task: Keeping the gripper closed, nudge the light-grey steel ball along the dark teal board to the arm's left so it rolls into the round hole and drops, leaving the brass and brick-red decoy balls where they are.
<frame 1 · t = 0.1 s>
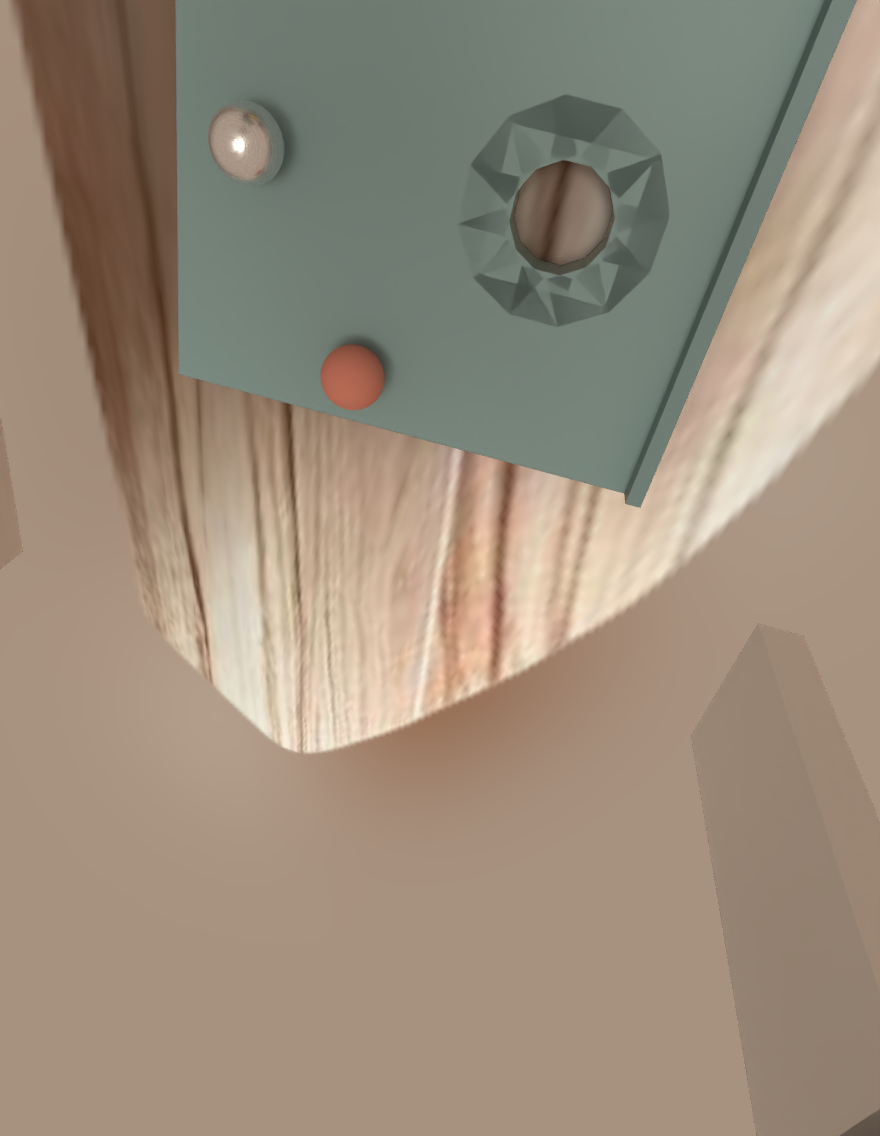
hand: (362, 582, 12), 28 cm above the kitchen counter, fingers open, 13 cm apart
steel ball: (246, 144, 31), point 4 cm above the kitchen counter, touching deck
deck: (461, 186, 34), on the kitchen counter
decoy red: (352, 377, 35), point 4 cm above the kitchen counter, touching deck
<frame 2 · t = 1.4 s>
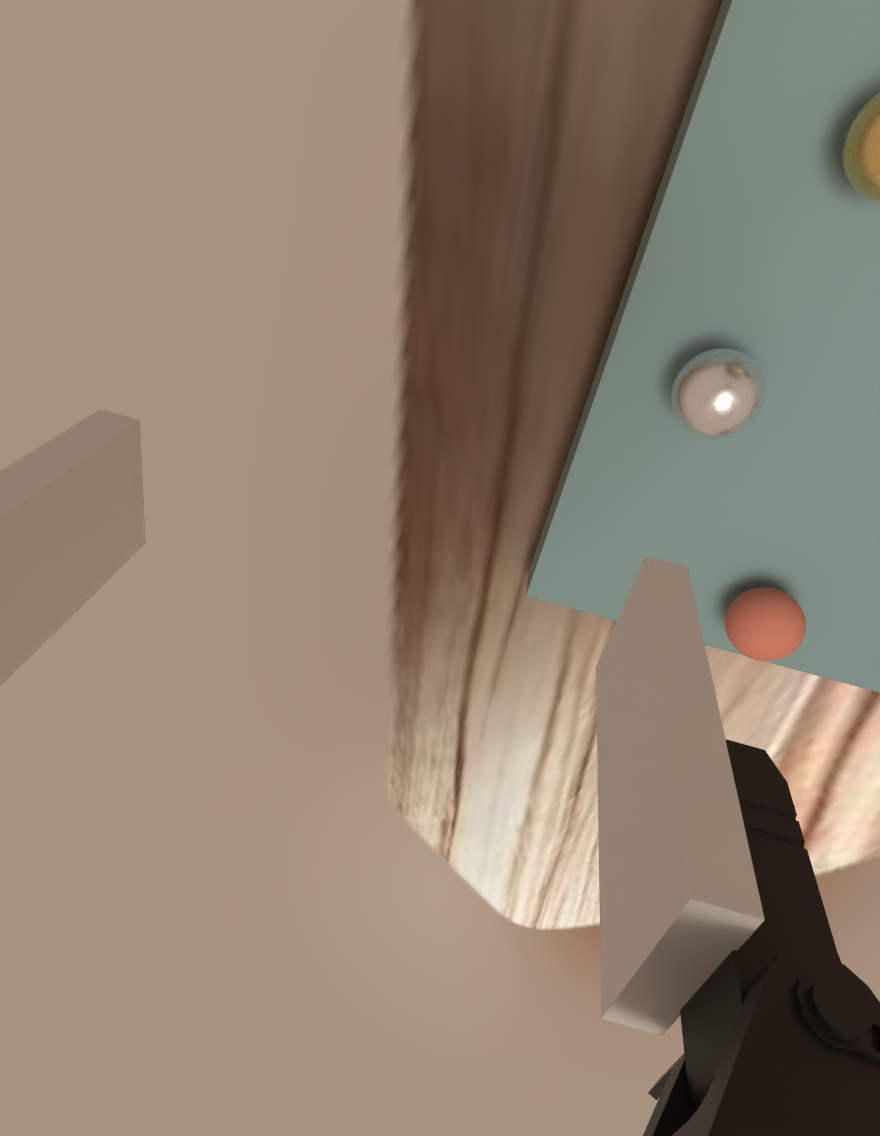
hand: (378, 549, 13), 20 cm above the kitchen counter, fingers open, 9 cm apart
steel ball: (717, 394, 26), point 4 cm above the kitchen counter, touching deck
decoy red: (764, 624, 31), point 4 cm above the kitchen counter, touching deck
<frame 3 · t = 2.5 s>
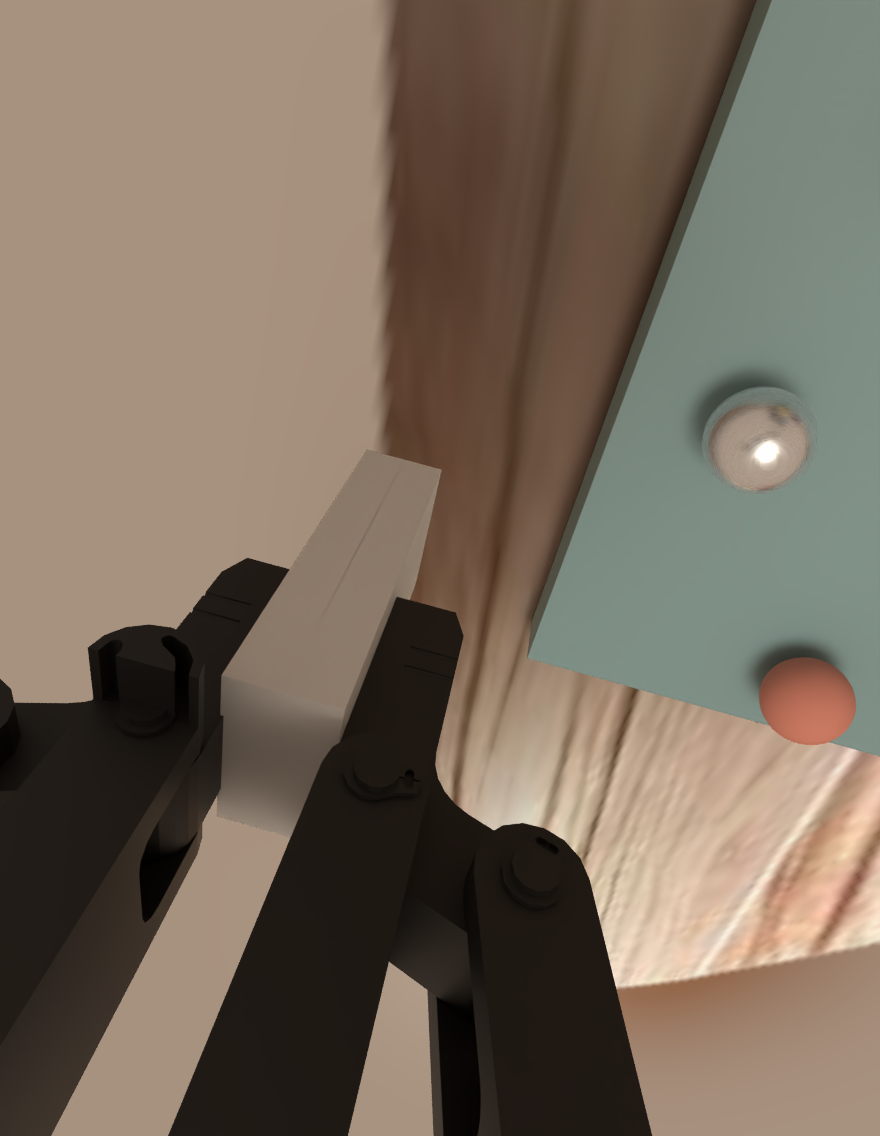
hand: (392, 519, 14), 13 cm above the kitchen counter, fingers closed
steel ball: (758, 441, 21), point 4 cm above the kitchen counter, touching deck
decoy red: (806, 700, 26), point 4 cm above the kitchen counter, touching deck
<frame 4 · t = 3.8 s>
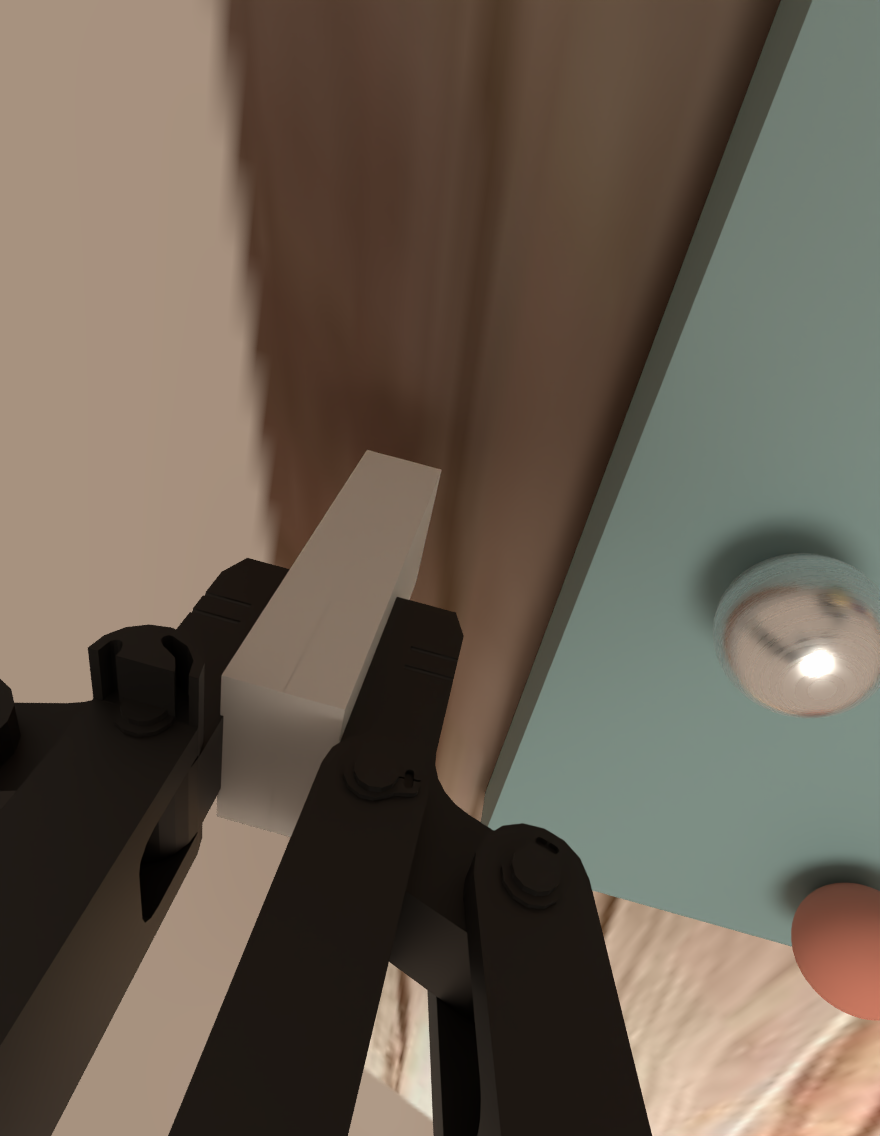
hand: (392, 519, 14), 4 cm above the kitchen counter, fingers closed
steel ball: (800, 634, 14), point 4 cm above the kitchen counter, touching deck
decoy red: (858, 948, 19), point 4 cm above the kitchen counter, touching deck
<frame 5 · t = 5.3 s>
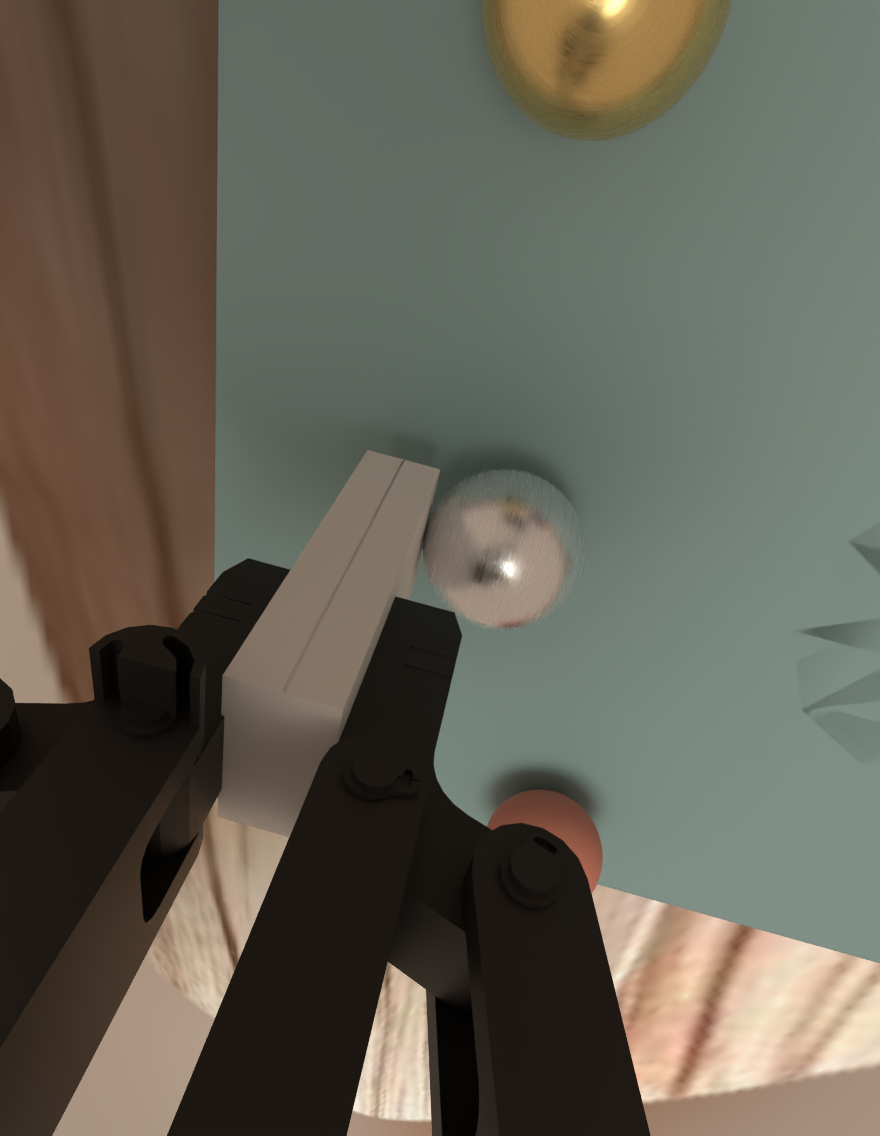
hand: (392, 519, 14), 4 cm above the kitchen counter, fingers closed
steel ball: (503, 549, 14), point 4 cm above the kitchen counter, tilted 93°, touching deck, gripper
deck: (771, 524, 17), on the kitchen counter
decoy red: (541, 851, 19), point 4 cm above the kitchen counter, touching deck
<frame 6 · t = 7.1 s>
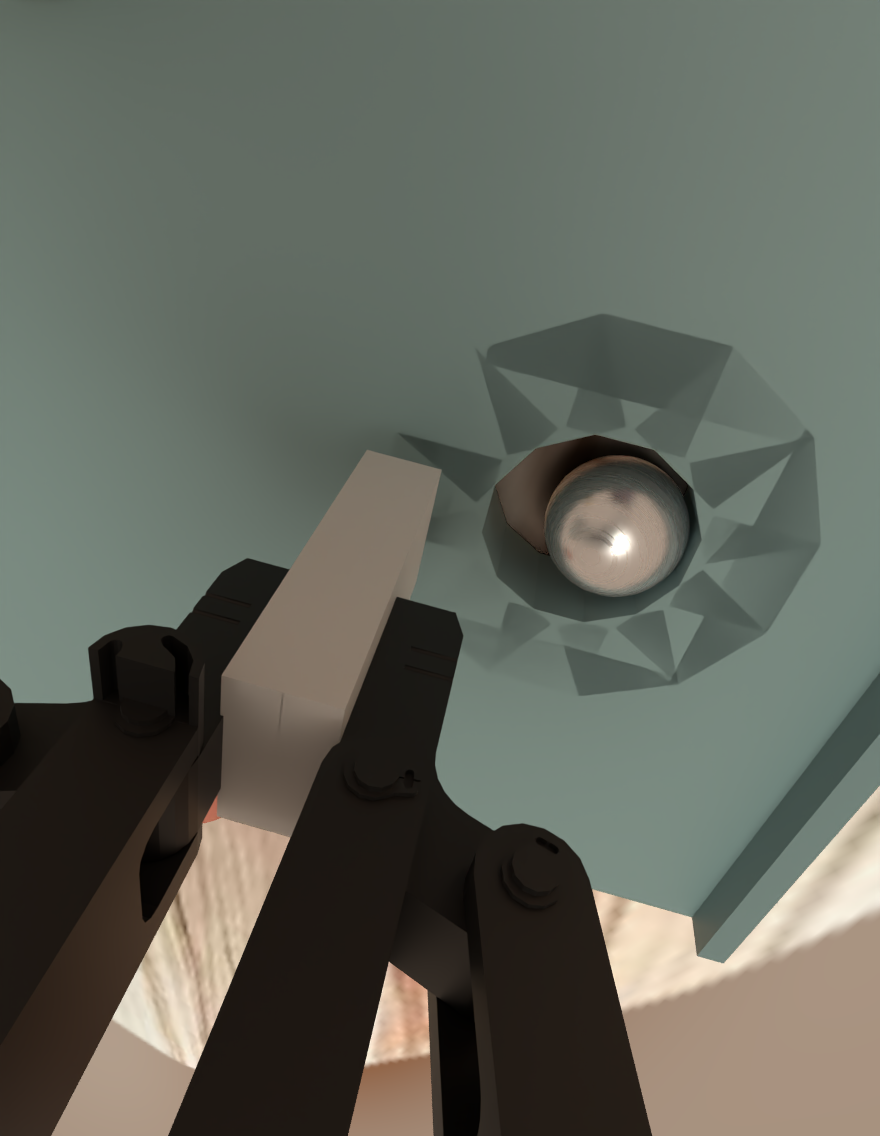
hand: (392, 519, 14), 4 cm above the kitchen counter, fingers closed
steel ball: (615, 526, 16), point 2 cm above the kitchen counter, tilted 160°
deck: (392, 433, 17), on the kitchen counter
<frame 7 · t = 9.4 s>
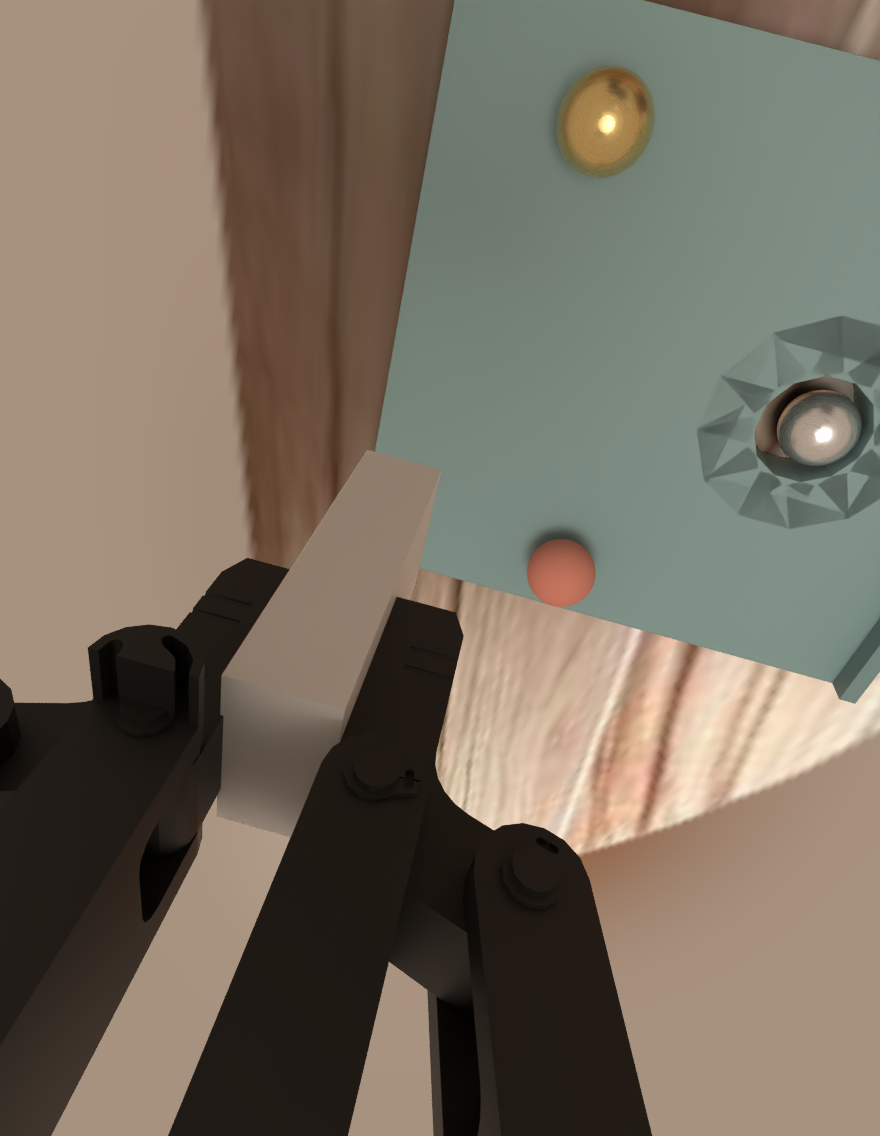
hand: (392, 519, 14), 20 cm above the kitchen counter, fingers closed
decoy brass: (604, 123, 24), point 4 cm above the kitchen counter, touching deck
steel ball: (818, 428, 30), point 2 cm above the kitchen counter, tilted 155°
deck: (689, 381, 32), on the kitchen counter
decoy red: (561, 572, 33), point 4 cm above the kitchen counter, touching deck
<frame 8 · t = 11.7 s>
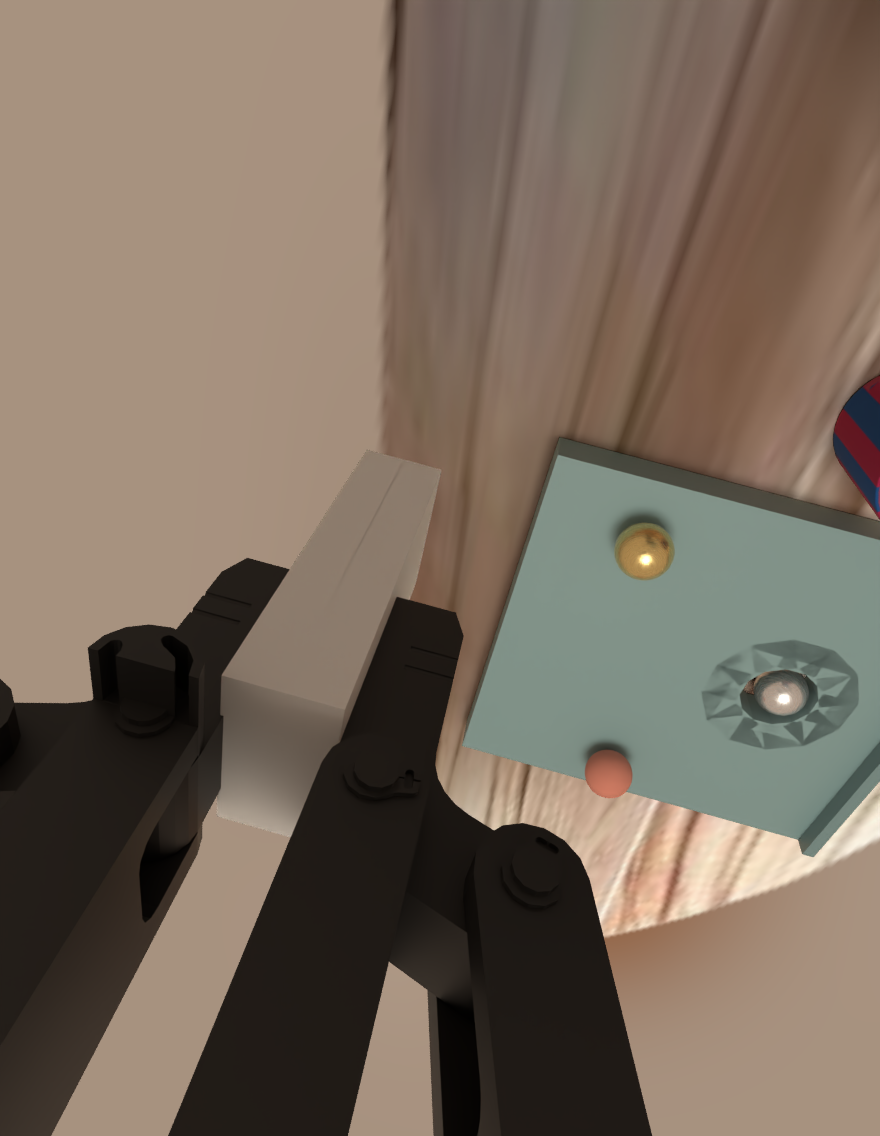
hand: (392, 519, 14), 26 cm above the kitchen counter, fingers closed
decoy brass: (644, 551, 39), point 4 cm above the kitchen counter, touching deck
steel ball: (780, 690, 45), point 2 cm above the kitchen counter, tilted 150°
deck: (696, 651, 47), on the kitchen counter
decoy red: (608, 773, 49), point 4 cm above the kitchen counter, touching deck
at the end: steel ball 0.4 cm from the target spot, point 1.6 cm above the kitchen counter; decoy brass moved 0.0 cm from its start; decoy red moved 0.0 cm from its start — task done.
